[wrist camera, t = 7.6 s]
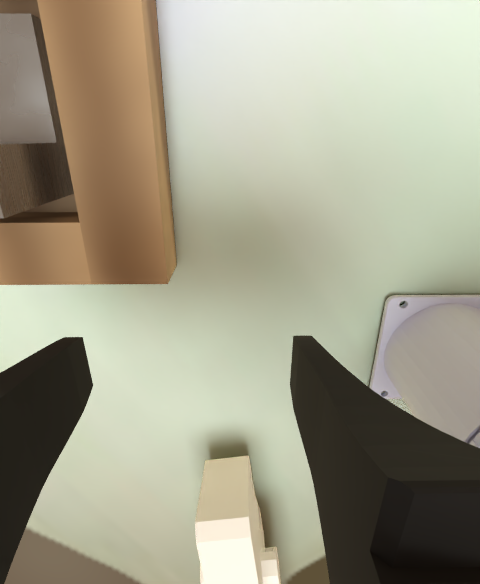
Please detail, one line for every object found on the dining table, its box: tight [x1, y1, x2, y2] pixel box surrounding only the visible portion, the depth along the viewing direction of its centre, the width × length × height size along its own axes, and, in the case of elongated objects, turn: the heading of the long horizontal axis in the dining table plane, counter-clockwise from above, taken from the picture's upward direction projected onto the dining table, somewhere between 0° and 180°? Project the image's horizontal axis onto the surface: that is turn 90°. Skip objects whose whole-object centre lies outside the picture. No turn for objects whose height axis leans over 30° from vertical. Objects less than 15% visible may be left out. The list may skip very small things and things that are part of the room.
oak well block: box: [0, 0, 177, 285], centre depth 16 cm, size 14×16×3 cm
